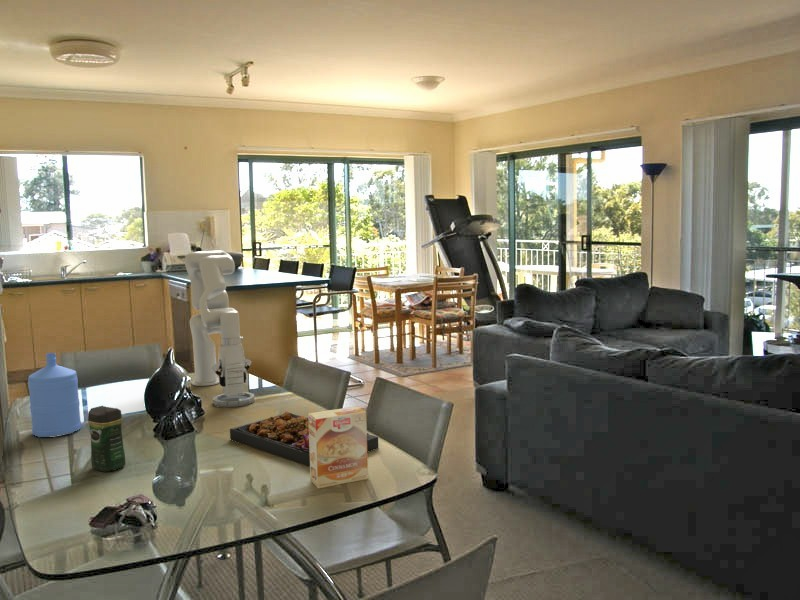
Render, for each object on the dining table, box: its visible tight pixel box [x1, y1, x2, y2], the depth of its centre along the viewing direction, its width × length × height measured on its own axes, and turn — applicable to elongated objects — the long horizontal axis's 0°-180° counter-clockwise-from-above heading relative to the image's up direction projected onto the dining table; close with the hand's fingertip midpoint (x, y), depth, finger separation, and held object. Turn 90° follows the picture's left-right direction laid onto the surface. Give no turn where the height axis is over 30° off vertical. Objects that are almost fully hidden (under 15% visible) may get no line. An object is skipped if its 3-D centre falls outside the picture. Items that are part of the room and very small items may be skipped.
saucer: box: [212, 391, 255, 409], centre depth 285 cm, size 16×16×2 cm
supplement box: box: [222, 363, 245, 397], centre depth 284 cm, size 7×7×13 cm
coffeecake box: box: [307, 405, 369, 489], centre depth 196 cm, size 15×7×20 cm, turn 115°
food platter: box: [229, 411, 379, 468], centre depth 229 cm, size 45×25×10 cm, turn 47°
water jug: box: [27, 352, 82, 438], centre depth 249 cm, size 16×16×28 cm
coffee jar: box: [87, 405, 126, 472], centre depth 211 cm, size 10×8×19 cm
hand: (233, 383), depth 284 cm, fingers closed on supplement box, 8 cm apart
